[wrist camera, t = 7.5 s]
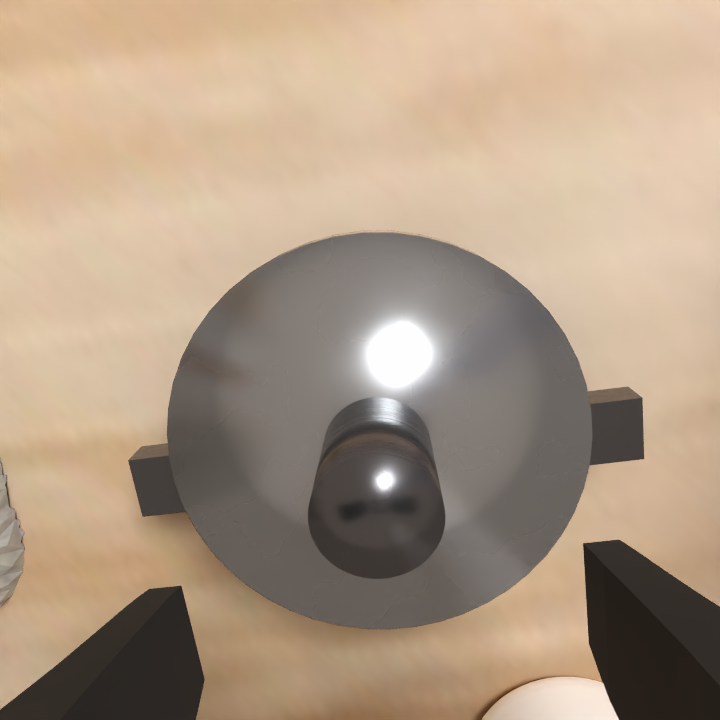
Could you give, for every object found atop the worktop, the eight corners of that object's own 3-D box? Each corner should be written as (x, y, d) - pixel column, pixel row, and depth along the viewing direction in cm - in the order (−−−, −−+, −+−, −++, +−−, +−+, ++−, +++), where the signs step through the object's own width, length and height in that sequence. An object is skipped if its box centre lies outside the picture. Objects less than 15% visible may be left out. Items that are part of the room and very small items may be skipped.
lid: (584, 214, 15) (668, 223, 11) (576, 598, 18) (640, 730, 14) (150, 245, 16) (60, 265, 11) (207, 613, 19) (153, 744, 14)
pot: (594, 236, 19) (640, 245, 15) (607, 528, 21) (650, 591, 18) (138, 300, 20) (88, 322, 16) (202, 572, 22) (170, 639, 19)
